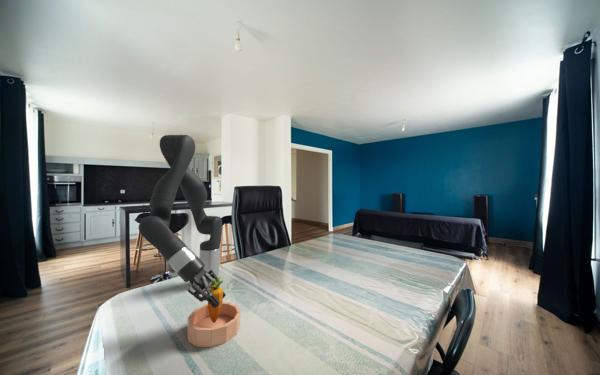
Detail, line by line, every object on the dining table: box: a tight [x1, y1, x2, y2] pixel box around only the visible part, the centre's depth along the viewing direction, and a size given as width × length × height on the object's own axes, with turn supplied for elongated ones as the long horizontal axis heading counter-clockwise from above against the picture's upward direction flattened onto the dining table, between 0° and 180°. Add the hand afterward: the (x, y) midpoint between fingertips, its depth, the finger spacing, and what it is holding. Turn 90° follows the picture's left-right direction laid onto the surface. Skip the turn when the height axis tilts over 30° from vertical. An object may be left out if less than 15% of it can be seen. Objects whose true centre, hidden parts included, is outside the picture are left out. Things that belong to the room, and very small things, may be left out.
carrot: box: [207, 276, 224, 323], centre depth 72 cm, size 5×5×15 cm
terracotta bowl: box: [186, 301, 242, 348], centre depth 72 cm, size 16×16×5 cm
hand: (220, 301), depth 72 cm, fingers closed on carrot, 5 cm apart
